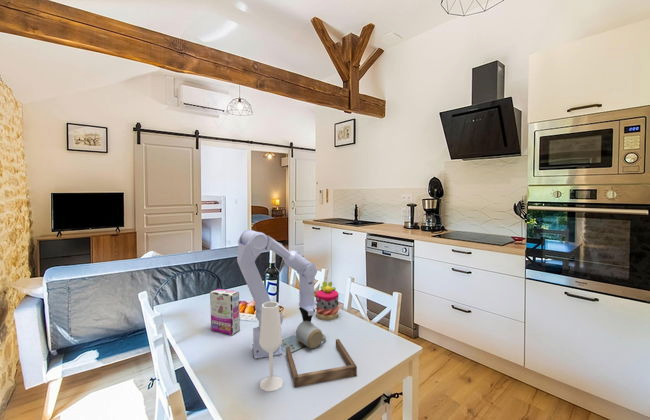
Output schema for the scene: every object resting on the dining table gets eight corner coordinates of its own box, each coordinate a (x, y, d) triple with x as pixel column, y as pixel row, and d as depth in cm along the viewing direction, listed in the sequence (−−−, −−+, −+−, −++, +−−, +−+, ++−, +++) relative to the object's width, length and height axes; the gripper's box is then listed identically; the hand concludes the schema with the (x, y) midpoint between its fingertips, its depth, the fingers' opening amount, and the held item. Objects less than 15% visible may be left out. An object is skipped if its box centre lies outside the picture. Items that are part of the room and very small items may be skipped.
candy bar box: (240, 330, 118) (239, 291, 117) (232, 336, 113) (231, 295, 112) (219, 325, 122) (218, 287, 121) (210, 330, 117) (209, 291, 116)
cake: (342, 318, 129) (342, 285, 128) (320, 322, 125) (320, 288, 124) (332, 309, 138) (332, 279, 137) (312, 313, 134) (312, 281, 133)
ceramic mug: (308, 352, 101) (308, 331, 101) (295, 343, 108) (295, 323, 107) (330, 343, 108) (331, 323, 108) (317, 334, 114) (317, 315, 114)
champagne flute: (283, 375, 89) (282, 299, 87) (282, 390, 82) (281, 308, 81) (261, 377, 88) (259, 300, 87) (258, 392, 82) (257, 309, 80)
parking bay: (294, 387, 83) (294, 377, 83) (286, 355, 100) (286, 346, 100) (356, 375, 89) (356, 366, 89) (338, 346, 105) (338, 339, 105)
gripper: (321, 297, 105) (321, 333, 106) (312, 285, 119) (312, 316, 120) (302, 299, 103) (303, 336, 104) (295, 286, 117) (295, 319, 118)
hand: (306, 326), depth 112 cm, fingers closed
